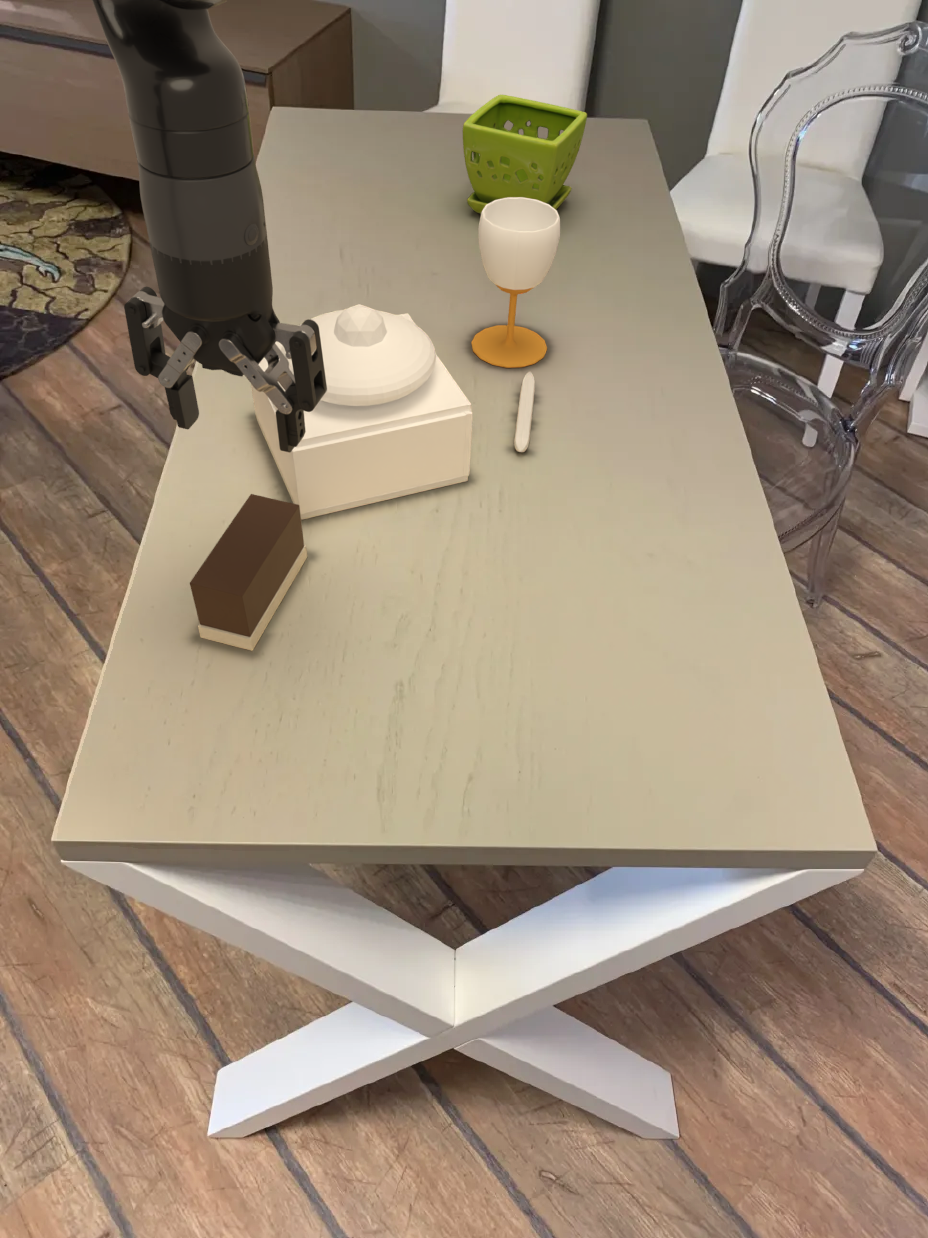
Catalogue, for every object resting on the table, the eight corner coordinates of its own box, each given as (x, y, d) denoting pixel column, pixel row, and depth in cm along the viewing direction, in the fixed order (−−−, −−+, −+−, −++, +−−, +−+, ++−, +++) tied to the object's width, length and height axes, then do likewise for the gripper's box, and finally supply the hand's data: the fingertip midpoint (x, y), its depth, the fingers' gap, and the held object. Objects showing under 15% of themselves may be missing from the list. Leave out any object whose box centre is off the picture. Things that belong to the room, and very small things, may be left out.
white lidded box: (300, 520, 90) (284, 377, 79) (254, 414, 101) (233, 275, 90) (469, 480, 95) (477, 341, 84) (408, 384, 106) (407, 249, 95)
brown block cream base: (259, 545, 88) (250, 491, 83) (307, 556, 87) (301, 503, 82) (200, 637, 80) (186, 584, 75) (252, 651, 79) (242, 598, 75)
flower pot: (546, 240, 131) (557, 144, 122) (455, 217, 134) (458, 123, 125) (579, 200, 140) (591, 109, 131) (492, 181, 143) (498, 90, 134)
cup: (547, 329, 115) (563, 198, 103) (546, 371, 109) (562, 237, 97) (474, 323, 116) (481, 192, 104) (468, 364, 110) (475, 230, 98)
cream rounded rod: (535, 381, 108) (537, 369, 107) (527, 457, 98) (528, 444, 97) (522, 380, 108) (523, 367, 107) (512, 455, 99) (513, 442, 97)
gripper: (331, 223, 62) (343, 426, 74) (138, 187, 65) (179, 390, 77) (285, 274, 57) (305, 483, 69) (77, 233, 60) (131, 442, 72)
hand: (239, 434), depth 73 cm, fingers open, 8 cm apart
